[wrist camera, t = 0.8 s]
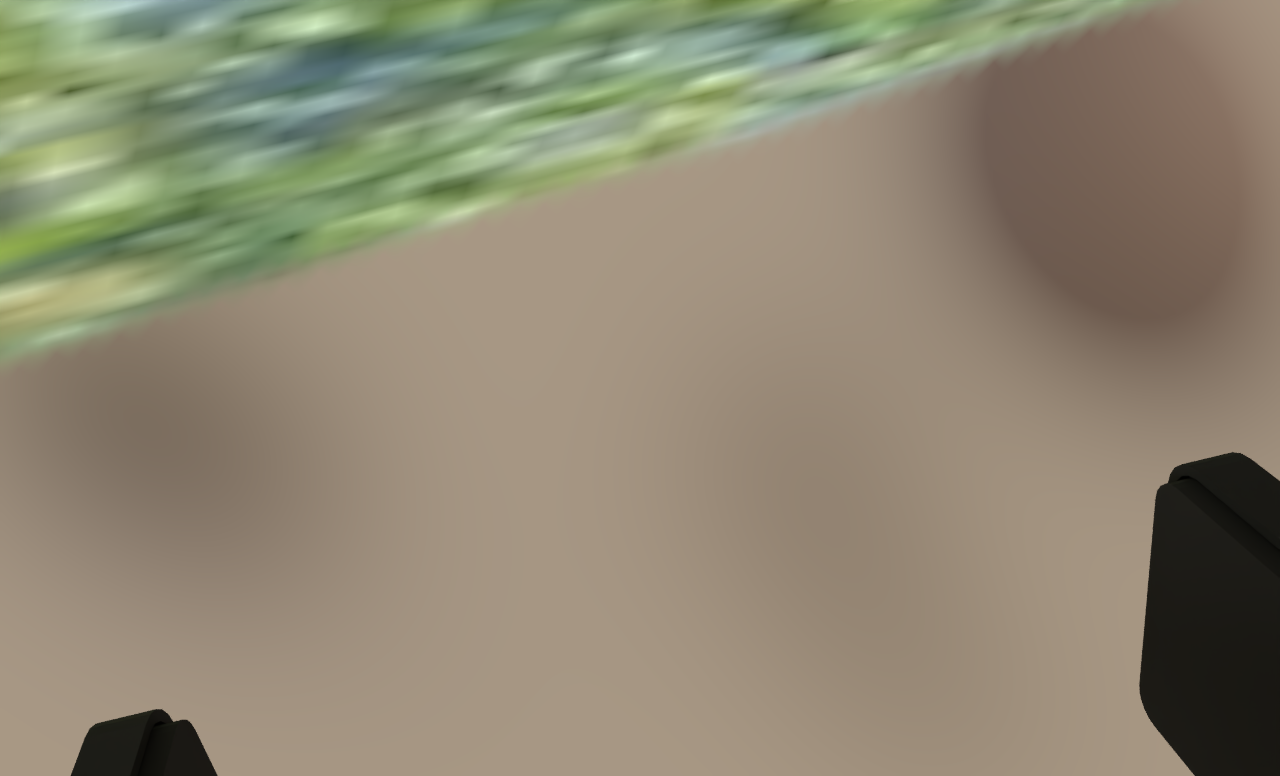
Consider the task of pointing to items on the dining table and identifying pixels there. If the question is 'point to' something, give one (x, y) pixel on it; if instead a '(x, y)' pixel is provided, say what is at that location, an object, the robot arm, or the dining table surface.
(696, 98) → the dining table surface
